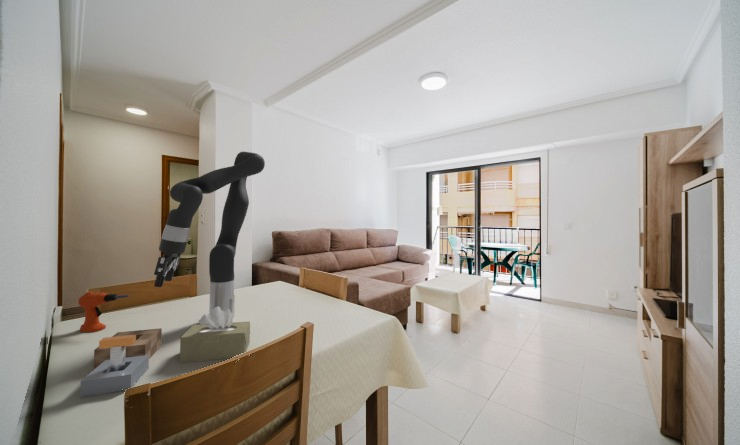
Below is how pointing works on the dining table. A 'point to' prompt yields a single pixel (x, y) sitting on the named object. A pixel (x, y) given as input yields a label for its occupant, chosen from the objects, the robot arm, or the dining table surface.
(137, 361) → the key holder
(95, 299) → the toy drill
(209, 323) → the tissue box
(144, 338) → the block
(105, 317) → the dining table surface
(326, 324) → the dining table surface
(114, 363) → the bar
